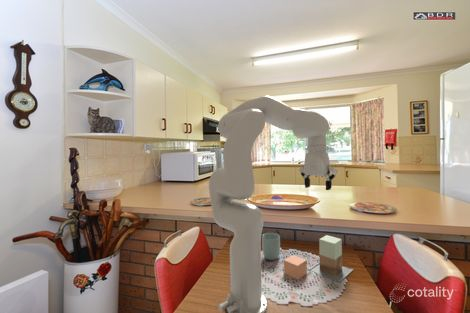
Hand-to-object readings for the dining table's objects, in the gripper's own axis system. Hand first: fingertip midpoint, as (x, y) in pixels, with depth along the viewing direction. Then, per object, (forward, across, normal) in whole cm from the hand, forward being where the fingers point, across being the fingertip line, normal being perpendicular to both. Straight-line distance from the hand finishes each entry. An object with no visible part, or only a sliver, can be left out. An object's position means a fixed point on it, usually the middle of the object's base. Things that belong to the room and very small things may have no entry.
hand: (317, 188), depth 97 cm
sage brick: (+24, +9, -8) cm, 27 cm away
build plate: (+31, +9, -8) cm, 33 cm away
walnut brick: (+30, +9, -8) cm, 32 cm away
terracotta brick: (+31, +1, -20) cm, 36 cm away
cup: (+31, -14, -16) cm, 37 cm away
